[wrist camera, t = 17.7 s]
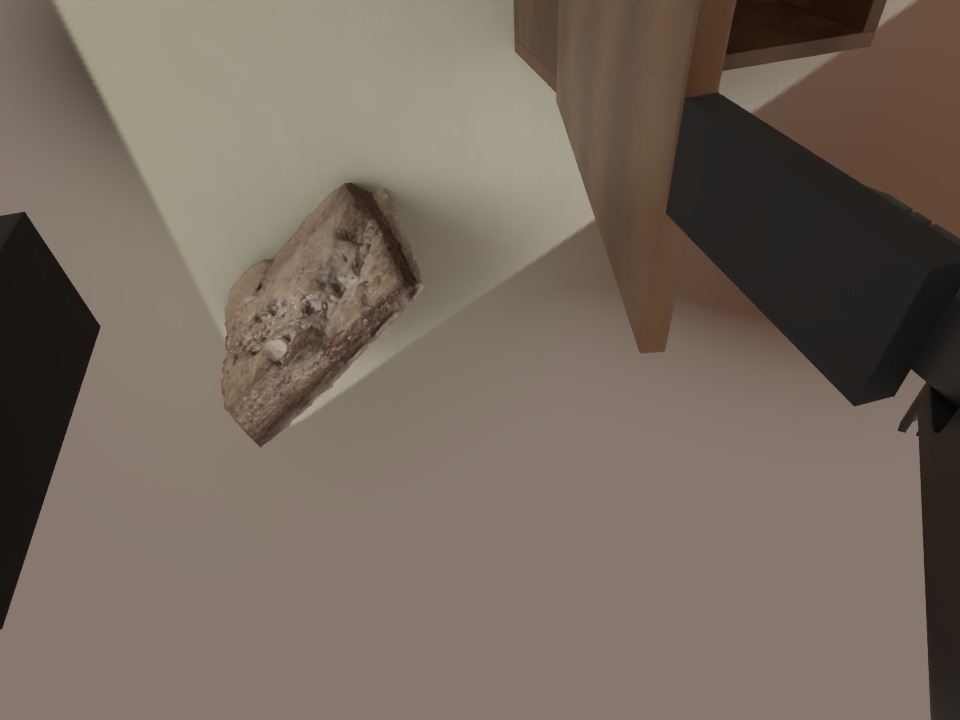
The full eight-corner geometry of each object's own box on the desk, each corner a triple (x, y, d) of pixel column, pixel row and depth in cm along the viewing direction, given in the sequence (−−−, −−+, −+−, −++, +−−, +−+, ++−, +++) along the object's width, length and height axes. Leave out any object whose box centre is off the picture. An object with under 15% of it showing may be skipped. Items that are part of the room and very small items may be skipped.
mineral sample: (254, 325, 49) (249, 471, 38) (210, 299, 47) (190, 448, 36) (399, 185, 44) (439, 306, 33) (358, 147, 42) (387, 265, 31)
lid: (795, -282, 9) (742, -276, 9) (665, 352, 18) (639, 354, 18) (583, -238, 24) (563, -236, 24) (570, 100, 33) (556, 101, 33)
